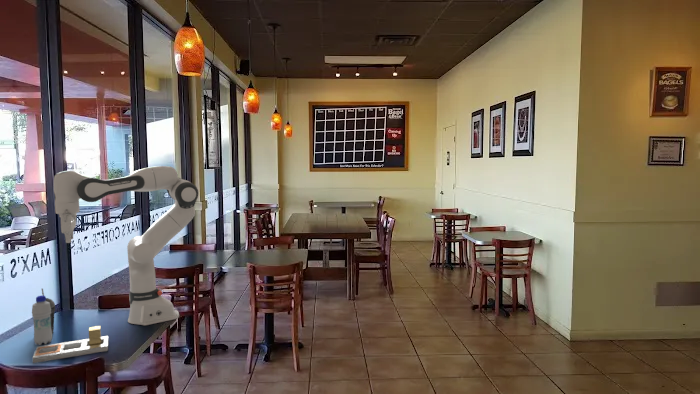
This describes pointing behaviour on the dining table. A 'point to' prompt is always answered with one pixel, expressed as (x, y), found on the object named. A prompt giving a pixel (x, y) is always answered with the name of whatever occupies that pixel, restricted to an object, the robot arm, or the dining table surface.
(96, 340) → the brass peg
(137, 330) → the dining table surface
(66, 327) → the dining table surface
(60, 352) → the white slotted tray
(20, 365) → the dining table surface
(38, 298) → the bottle
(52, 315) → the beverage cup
